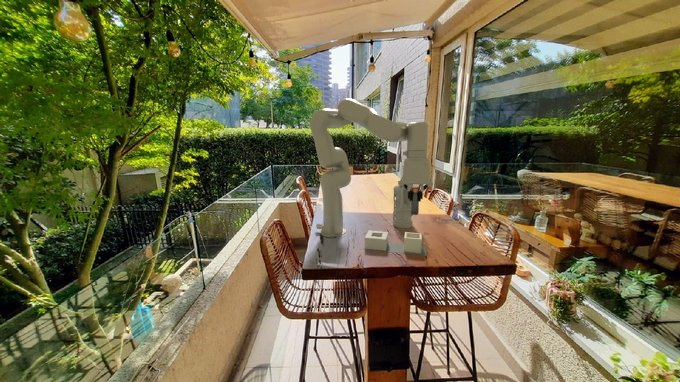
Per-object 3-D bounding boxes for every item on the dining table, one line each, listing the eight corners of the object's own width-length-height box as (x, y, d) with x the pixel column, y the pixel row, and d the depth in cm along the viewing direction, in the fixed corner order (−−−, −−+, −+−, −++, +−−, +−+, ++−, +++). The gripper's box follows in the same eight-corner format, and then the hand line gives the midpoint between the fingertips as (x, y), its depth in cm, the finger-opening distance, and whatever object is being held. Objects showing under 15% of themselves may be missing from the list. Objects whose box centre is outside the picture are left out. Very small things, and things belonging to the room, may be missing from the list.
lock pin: (410, 214, 107) (411, 187, 105) (410, 212, 110) (411, 186, 108) (418, 215, 106) (419, 188, 104) (418, 213, 109) (419, 186, 107)
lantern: (391, 222, 149) (392, 178, 144) (410, 222, 148) (411, 177, 143) (395, 230, 136) (396, 182, 131) (415, 230, 136) (417, 182, 130)
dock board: (361, 251, 113) (362, 235, 111) (366, 242, 122) (366, 227, 120) (426, 258, 105) (427, 241, 104) (425, 247, 115) (426, 232, 113)
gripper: (394, 155, 102) (393, 202, 106) (439, 155, 97) (437, 204, 101) (396, 154, 109) (395, 197, 113) (438, 154, 104) (436, 199, 108)
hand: (415, 200), depth 107 cm, fingers closed on lock pin, 3 cm apart
